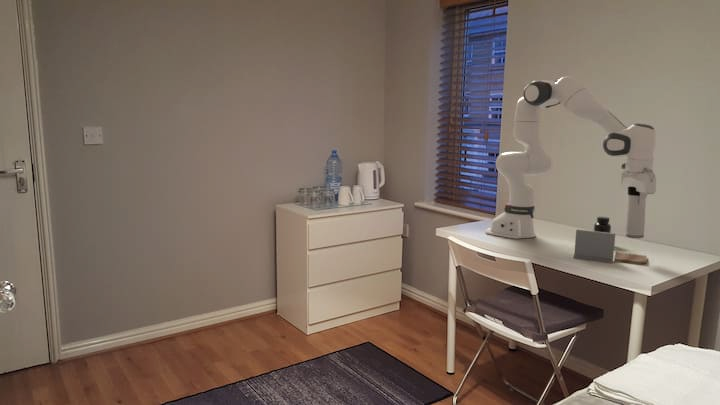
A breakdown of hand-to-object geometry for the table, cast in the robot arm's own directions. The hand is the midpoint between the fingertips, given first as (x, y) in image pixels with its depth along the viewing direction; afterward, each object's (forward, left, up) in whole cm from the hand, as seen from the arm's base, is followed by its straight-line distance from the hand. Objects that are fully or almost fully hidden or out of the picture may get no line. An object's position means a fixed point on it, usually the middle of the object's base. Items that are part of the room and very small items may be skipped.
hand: (635, 202), depth 204 cm
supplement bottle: (-12, +21, -23) cm, 33 cm away
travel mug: (+1, 0, -14) cm, 14 cm away
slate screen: (-13, -7, -23) cm, 27 cm away
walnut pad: (0, 0, -23) cm, 23 cm away
